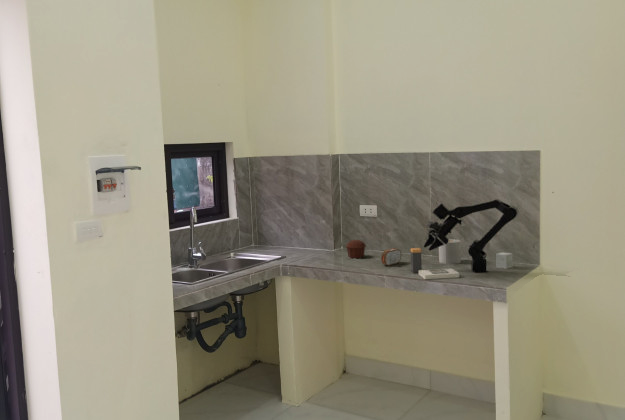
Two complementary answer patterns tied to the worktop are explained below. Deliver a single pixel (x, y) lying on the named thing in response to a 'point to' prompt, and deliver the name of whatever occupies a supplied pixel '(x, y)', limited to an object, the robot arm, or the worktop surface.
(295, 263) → the worktop surface
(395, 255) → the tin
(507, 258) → the product box
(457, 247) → the toilet paper roll
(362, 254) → the muffin
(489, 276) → the worktop surface
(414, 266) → the plug
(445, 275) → the socket plate
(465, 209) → the robot arm
